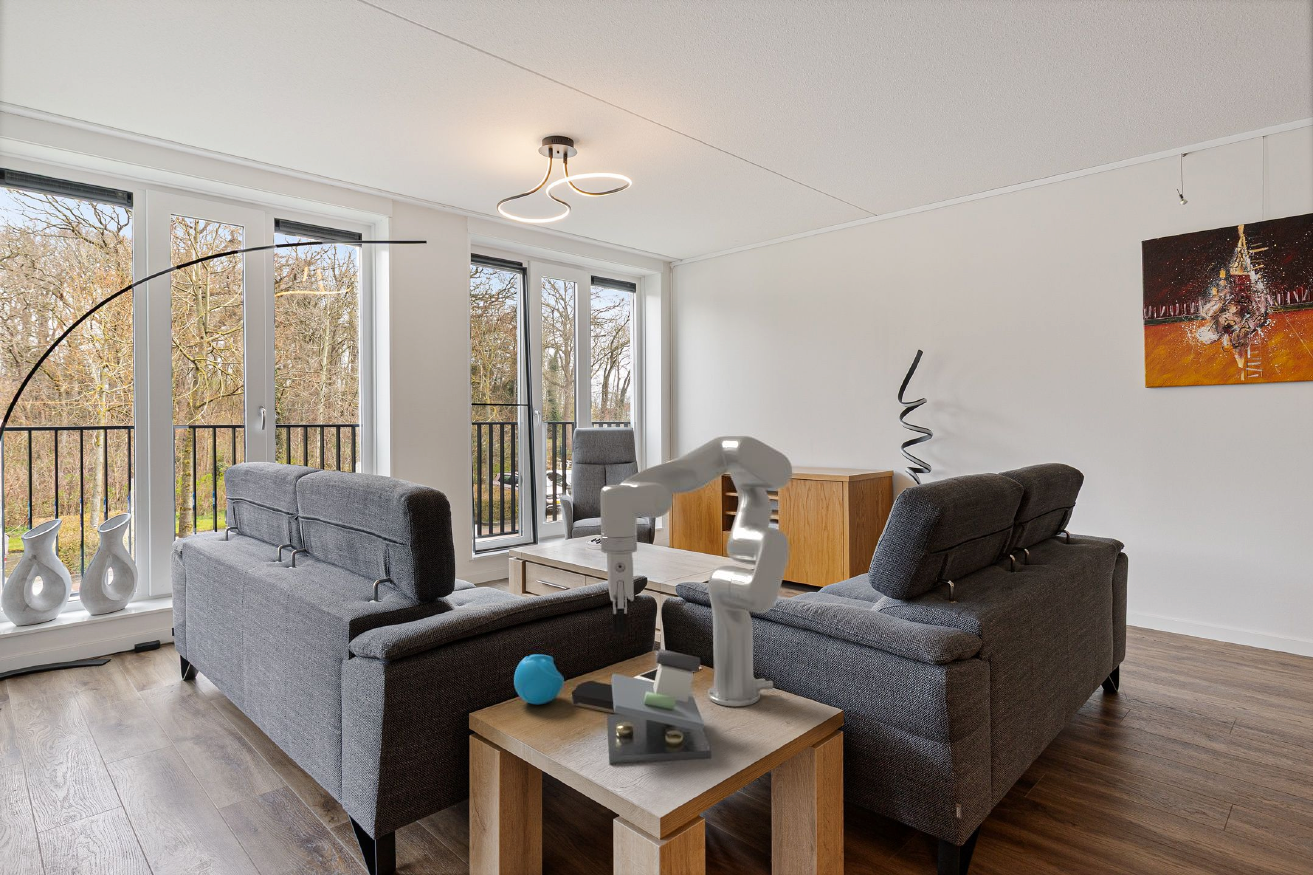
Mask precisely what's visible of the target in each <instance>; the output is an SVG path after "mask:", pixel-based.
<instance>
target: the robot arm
mask: <svg viewBox="0 0 1313 875" xmlns="http://www.w3.org/2000/svg"><path fill="white" fill-rule="evenodd" d="M728 473H729V475H730V476H729V477H730V478H731V482H733V485H734V487H735V490H736V493H737V497H738V499H737V500H738V503H737V504H738V505H737V510H736V513H735V516H734V520H733V523H732V526H731V529H730V533H729V537H728V538H727V542H726V543H727V544H726V553H727V556H728V557H729V558H730V559H731V560H732V561H735V562H736V563H741V564H746V565H751V566H752V565H753V566H754V569H749V568H747V567H746V568H745V567H740V566H736V565H735V566H734V565H722V566H720V567H717V568H715V569H714V570H713V571H712V572H711V575H710V576H709V578H708V584H707V588H708V595H709V596H708V597H709V599H710V604H711V606H710V607H711V612H712V630H713V631H712V634H713V636H712V637H713V638H712V640H713V644H712V647H713V686H711V687H710V688H709V689H708V690H707V697H708V699H709V700H710V701H711V702H713V703H715V704H718V705H721V706H727V707H745V706H750V705H753V704H755V703H757V702H758V701H760V699H761V690H767V691H768V690H774V682H773V680H766V679H765V678H759V679H757V678H756V677H755V676H754V641H753V638H754V637H753V634H754V633H753V632H754V631H753V630H754V628H753V621H752V617H751V614H750V612H751V613H752V612H753V613H757V614H764V613H767V612H769V611H770V610H771V609H772V608H773V607H774V605H775V603H776V601H777V600H778V596H779V593H780V589H781V586H782V582H783V580H784V576H785V573H786V572H785V571H786V569H787V565H788V561H789V557H790V544H789V543H790V542H789V540H788V539H789V538H788V536H787V535H786V534H785V533H784V532H783V531H782V530H780V529H778V528H774V527H772V526H771V527H769V525H770V522H771V516H772V513H773V510H772V509H773V507H772V503H771V500H770V497H769V494H768V493H767V491H766V489H780V488H781V489H782V488H784V487H786V486H787V485H788V484H789V482H790V481H791V479H792V475H793V466H792V463H791V461H790V460H789V458H788V457H787V456H786V455H785V454H783V453H782V452H781V451H778V450H777V449H775V448H774V447H772V446H769V445H768V444H767V443H764V442H763V441H761V440H759V439H756V438H754V437H752V436H747V435H735V436H734V435H729V436H728V435H725V436H718V437H715V438H713V439H711V440H708V442H706V443H704V444H703V445H701V446H699V447H696V448H695V449H694V450H691V451H690V452H688V453H687V454H684V455H682V456H680V457H677V458H674V459H671V460H669V461H665V462H663V463H661V464H657V465H654V466H651V467H648V468H645V469H643V470H641V471H639V472H637V473H635V474H634V475H631V476H630V477H628V478H626V479H625V480H623V481H622V482H620V483H619V484H609V485H604V486H603V487H602V488H601V489H600V490H601V491H600V552H601V553H604V554H606V568H607V570H606V571H607V572H606V573H607V574H606V575H607V586H608V593H609V597H610V601H611V602H612V613H611V617H612V618H611V619H612V620H611V621H612V622H611V624H612V625H611V626H612V627H611V628H612V633H613V634H620V633H622V634H623V633H624V634H625V633H628V631H629V617H628V616H629V615H628V614H629V612H628V604H627V603H628V600H630V602H633V601H634V600H635V589H634V585H635V582H634V558H633V553H636V552H638V528H637V527H638V524H637V520H638V519H637V518H650V519H655V518H661V517H663V516H665V515H666V514H667V513H669V511H670V510H671V509H672V506H673V503H674V502H673V501H674V498H673V495H676V494H687V493H691V492H695V491H698V490H700V489H703V488H704V487H706V486H707V485H709V484H710V483H712V482H714V481H715V480H717V479H719V478H720V477H722V476H724V475H725V474H728ZM627 599H628V600H627Z"/></svg>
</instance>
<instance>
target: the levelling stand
mask: <svg viewBox="0 0 1313 875" xmlns="http://www.w3.org/2000/svg"><path fill="white" fill-rule="evenodd" d="M606 727H607V728H606V731H607V747H608V764H609V765H620V764H621V765H622V764H623V765H624V764H636V763H651V762H652V763H654V762H666V761H667V762H669V761H670V762H671V761H684V760H686V761H687V760H698V759H699V760H702V759H711V758H712V752H711V747H710V745H709V742H708V740H707V737H706V734H705V732H704V730H702V731H699V730H694V729H689V728H684V727H680V726H675V725H670V724H665V723H661V722H656V721H651V720H646V719H642V718H637V717H632V716H627V715H623V714H614V713H611V714H606Z"/></svg>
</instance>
